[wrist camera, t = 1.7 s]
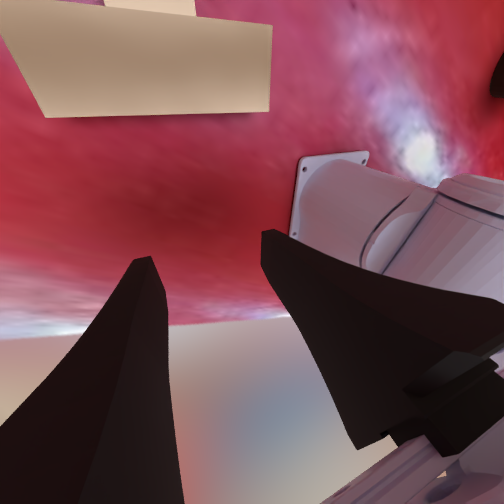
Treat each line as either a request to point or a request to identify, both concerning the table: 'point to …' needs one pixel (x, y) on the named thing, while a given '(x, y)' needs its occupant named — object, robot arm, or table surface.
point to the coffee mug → (498, 80)
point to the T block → (136, 58)
